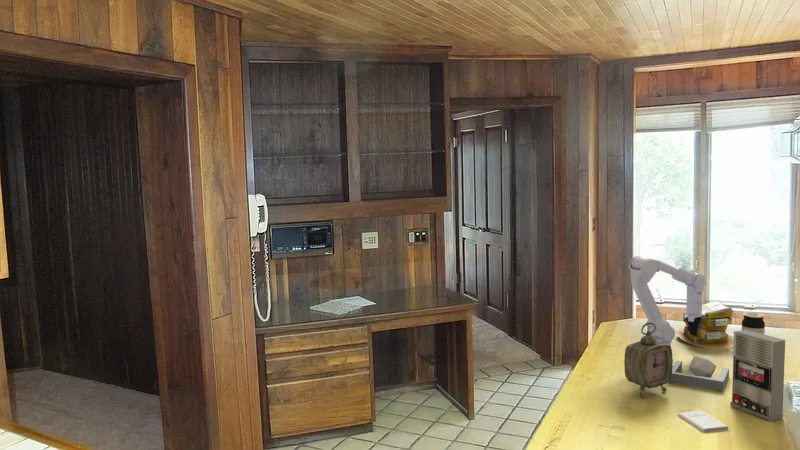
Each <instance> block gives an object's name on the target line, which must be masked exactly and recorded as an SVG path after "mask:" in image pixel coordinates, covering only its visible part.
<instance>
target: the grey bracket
mask: <svg viewBox="0 0 800 450" xmlns="http://www.w3.org/2000/svg"><path fill="white" fill-rule="evenodd" d="M682 371H683V361H682V360H676V361H675V362H673V365H672V375H671V379H670V381H669V382H668V383H671V384H678V385H682V386H689V387H694V388H701V389H707V390H713V391H718V392H724V390H725V388H726V386H727V384H728V380H729V378H730V367H724V366H723V367H722V368H721V371H720V373H719V376H718V377H717V378H713V377H711V378H709V377H703V376H696V375H694V374H689V373H683V372H682ZM681 372H682V373H681Z"/></svg>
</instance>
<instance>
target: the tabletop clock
mask: <svg viewBox="0 0 800 450" xmlns="http://www.w3.org/2000/svg"><path fill="white" fill-rule="evenodd" d="M650 324H652V325H654V330H653V331H652V332H650V331H649V330H648V331H647V330H646V332H644V328H645V327H647V325H650ZM655 330H656V326H655V324H654V323H646V322H645V323H644V324H643V325H642V327H641V329H640V332H641V334H642V335H643V336H642V337H641V339H640V340H638V341H636V342H633V343H630V344H628V345H627V346H626V347H625V349H624V360H623V361H624V364H623V365H624V375H625V378H626V379H627V381H628V382H631V383H633V384H635V385H639V386H640V387H639V390H640V391H641V393H640V394H639V396H640V398H641V399H644V398H646V394H645V392H644V391H645V389H655V388H660V387H661V391H662V392H663V393H665V392H667V387H665V386H664V385H667V384H668V383H670V382H669V381H670V379H671V375H672V366H673V365H674V362H673V361H674V359H673V351H672V350H673V349H672V345H671V346H669V345H666V344H663V343H659V342H656V339H655V338H654V337H653V336H651V335H650V334H652V333H654V331H655ZM672 359H673V360H672Z"/></svg>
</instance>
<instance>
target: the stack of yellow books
mask: <svg viewBox="0 0 800 450" xmlns="http://www.w3.org/2000/svg"><path fill="white" fill-rule="evenodd" d="M733 312H734V310H733V309H732V306H727V305H725V304H723V303H721V302H719V301H713V302H702V313H705V316H700V317H702V320H701V322H700V324H699V328H698V332H697V335H696V336H694V335H690V330H689V326H688V323H687V321H686V317H688V316H687V315H686V313H683V312H682V313H683V316H682V317H683V320H682V321H683V322H684V323H685V325H683V326H681V327H679V328H678V329H677V330H676V335H677V337H678V338H679V339H680V340H682V341H683V342H685V343H688V344H689V345H692V346H696V347H698V348H699V347H700V348H705V349H711V350H713V349H714V350H715V349H716V350H718V349H719V350H720V349H721V350H725V349H731V348H734V332H731V331H730V330H727V329H728V325H732V324H733V318H732V317H733V314H734V313H733Z"/></svg>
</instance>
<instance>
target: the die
mask: <svg viewBox="0 0 800 450" xmlns="http://www.w3.org/2000/svg"><path fill="white" fill-rule="evenodd" d="M716 368H717V364H716V363H715V362H714V361H713V360H712V359H711V358H710V357H709V356H708V355H707V354H705V355H694V356H693V357H692V360H691V361H690V363H689V365H688V369H689V371H690V372H691V373H692V375H696V376H703V377H709V378H713V376H714V375H713V374H714V373H715V371H716V370H717V369H716Z"/></svg>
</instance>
